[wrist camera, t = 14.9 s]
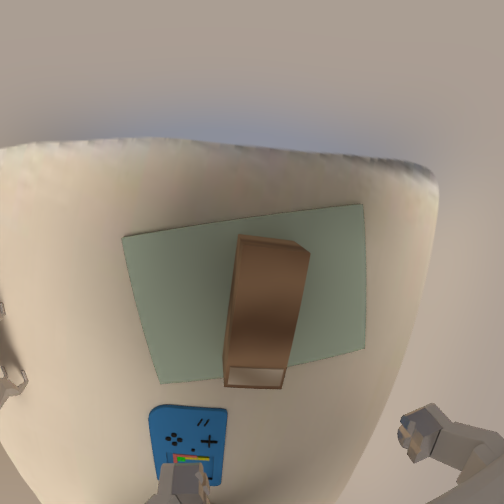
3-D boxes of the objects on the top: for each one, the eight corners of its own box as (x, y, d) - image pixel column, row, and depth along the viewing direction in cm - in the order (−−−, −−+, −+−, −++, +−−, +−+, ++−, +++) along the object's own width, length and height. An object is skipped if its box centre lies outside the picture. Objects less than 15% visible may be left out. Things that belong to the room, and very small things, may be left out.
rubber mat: (362, 345, 28) (364, 348, 28) (161, 380, 26) (160, 384, 26) (359, 203, 25) (363, 204, 24) (123, 237, 23) (121, 238, 23)
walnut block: (238, 233, 24) (243, 245, 19) (294, 240, 24) (311, 253, 20) (222, 356, 26) (224, 388, 21) (271, 359, 26) (281, 390, 22)
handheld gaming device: (227, 413, 27) (220, 488, 30) (227, 406, 28) (220, 481, 31) (145, 406, 26) (157, 483, 29) (147, 399, 27) (158, 477, 30)
